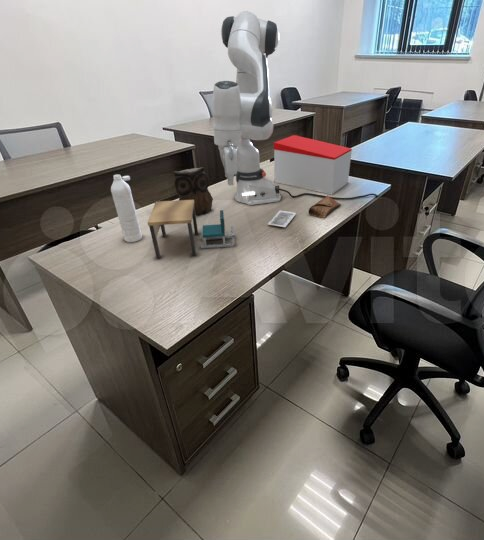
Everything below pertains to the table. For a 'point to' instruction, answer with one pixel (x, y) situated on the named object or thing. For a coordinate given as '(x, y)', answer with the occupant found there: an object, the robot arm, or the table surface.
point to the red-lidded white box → (311, 164)
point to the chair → (217, 233)
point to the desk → (172, 219)
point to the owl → (194, 189)
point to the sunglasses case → (323, 207)
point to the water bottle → (125, 208)
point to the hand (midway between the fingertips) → (229, 180)
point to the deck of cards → (282, 218)
